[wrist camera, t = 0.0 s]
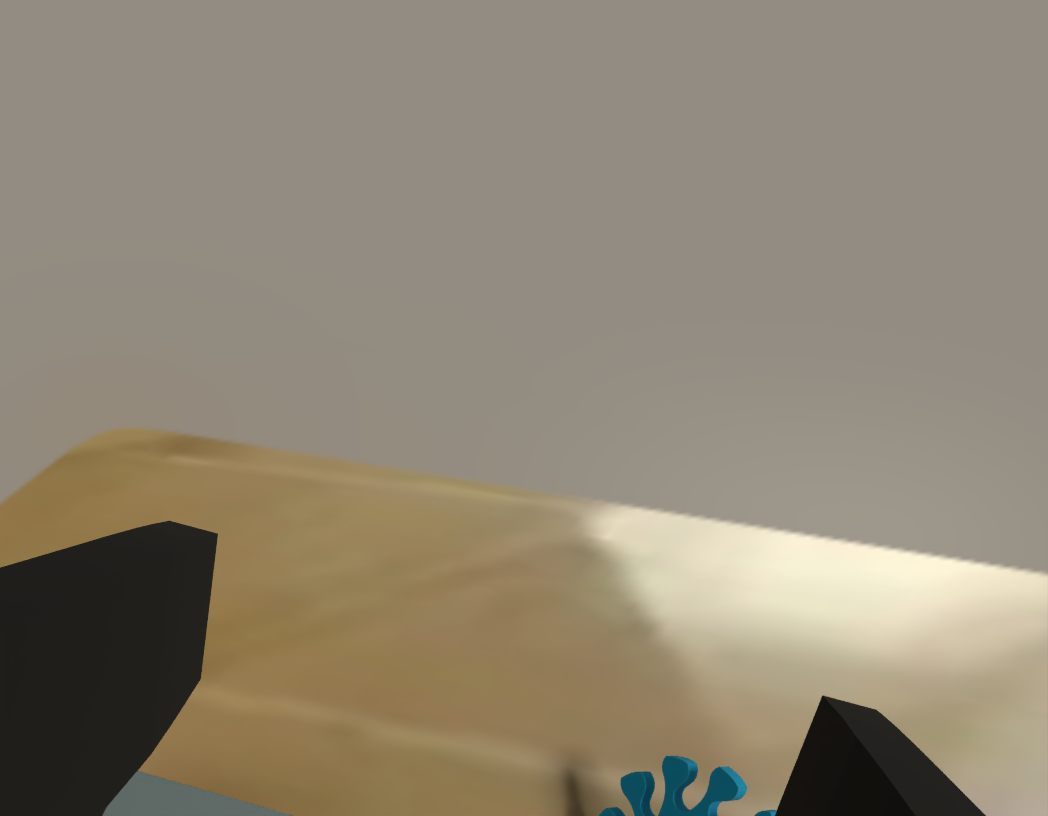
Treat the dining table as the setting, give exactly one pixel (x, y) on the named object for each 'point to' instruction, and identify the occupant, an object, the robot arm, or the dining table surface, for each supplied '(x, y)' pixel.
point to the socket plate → (177, 800)
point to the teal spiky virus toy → (681, 790)
